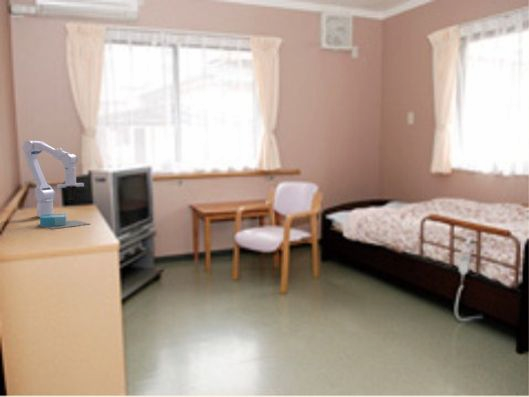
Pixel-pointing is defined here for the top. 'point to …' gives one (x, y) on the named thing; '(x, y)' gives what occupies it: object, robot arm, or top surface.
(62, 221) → the blue square block
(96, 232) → the top surface
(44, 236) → the top surface
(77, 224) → the mat
